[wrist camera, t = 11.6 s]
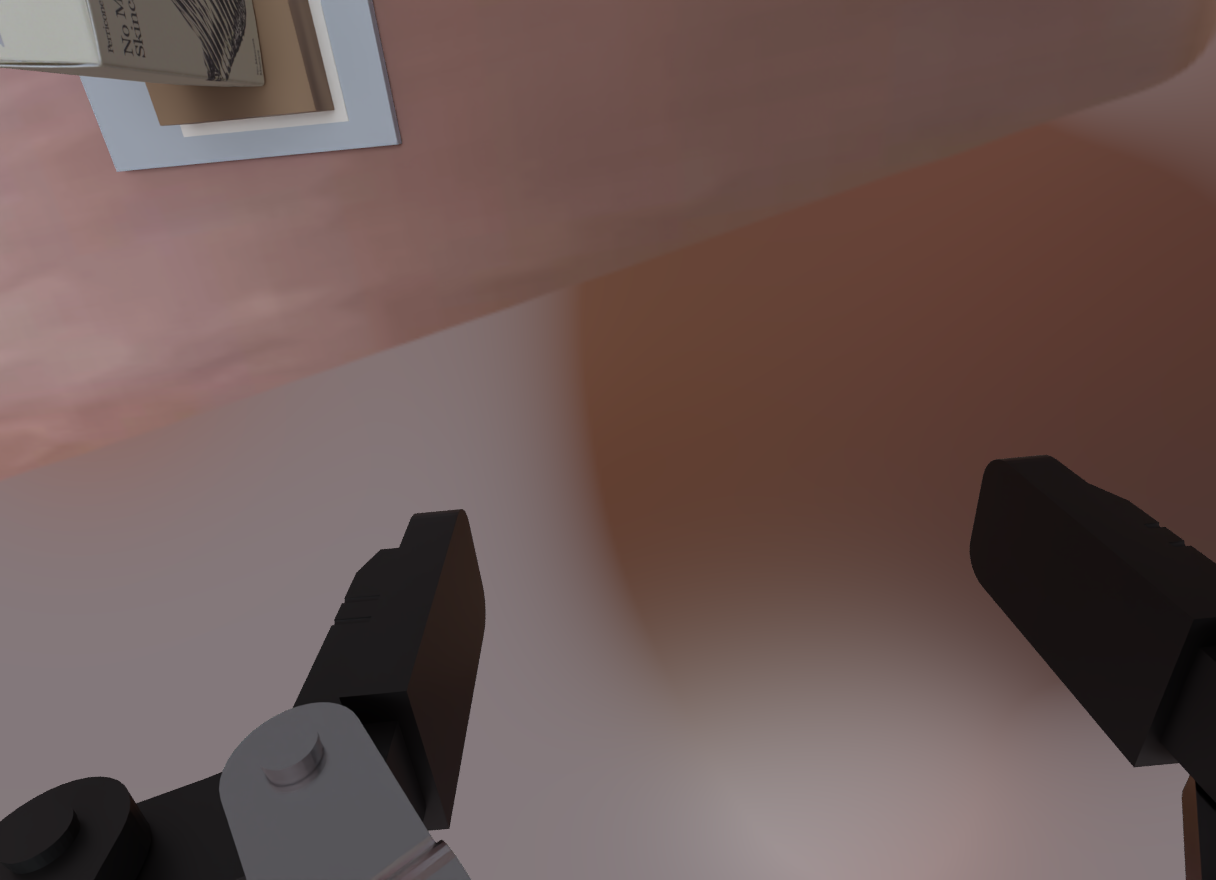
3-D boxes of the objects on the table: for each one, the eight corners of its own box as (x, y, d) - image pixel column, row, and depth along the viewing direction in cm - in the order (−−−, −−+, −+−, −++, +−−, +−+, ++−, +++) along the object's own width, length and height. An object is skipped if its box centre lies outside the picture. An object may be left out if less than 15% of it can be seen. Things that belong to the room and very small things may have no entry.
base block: (291, -69, 33) (266, -84, 30) (334, 110, 37) (316, 110, 34) (131, -53, 33) (92, -67, 30) (190, 124, 37) (160, 126, 34)
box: (269, 88, 34) (109, 80, 22) (179, 85, 33) (-31, 75, 22) (247, -40, 31) (53, -124, 20) (149, -44, 31) (-103, -131, 19)
